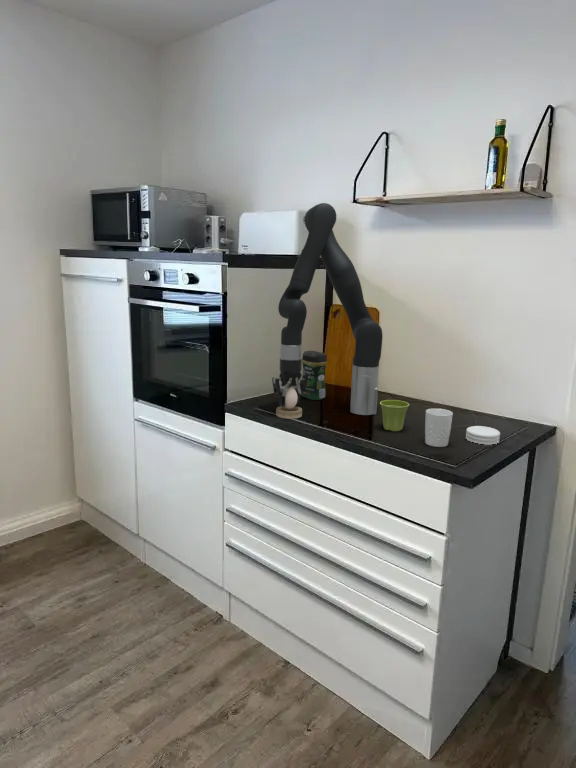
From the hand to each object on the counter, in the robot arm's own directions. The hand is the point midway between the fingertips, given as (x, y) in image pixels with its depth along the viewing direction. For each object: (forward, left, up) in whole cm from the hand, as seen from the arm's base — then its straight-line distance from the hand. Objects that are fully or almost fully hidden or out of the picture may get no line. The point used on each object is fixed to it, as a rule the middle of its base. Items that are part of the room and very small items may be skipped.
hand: (289, 404), depth 197 cm
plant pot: (-35, +10, -4) cm, 37 cm away
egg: (0, 0, -2) cm, 2 cm away
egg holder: (0, 0, -4) cm, 4 cm away
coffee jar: (-7, -27, -4) cm, 28 cm away
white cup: (-47, +23, -4) cm, 52 cm away
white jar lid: (-62, +17, -4) cm, 64 cm away
